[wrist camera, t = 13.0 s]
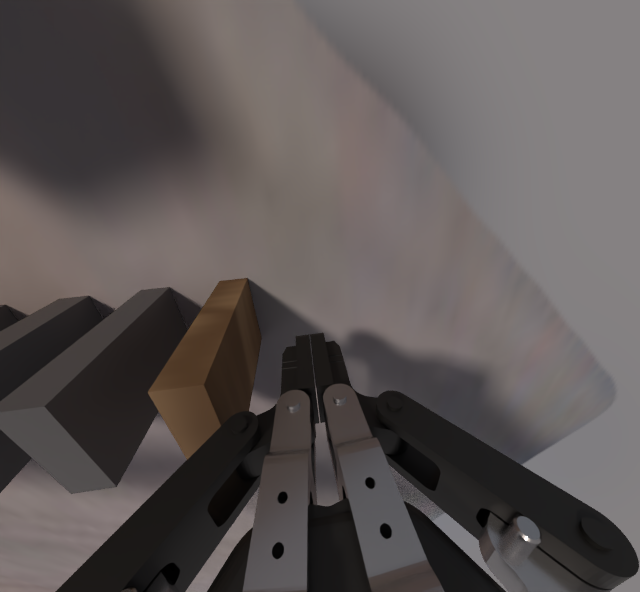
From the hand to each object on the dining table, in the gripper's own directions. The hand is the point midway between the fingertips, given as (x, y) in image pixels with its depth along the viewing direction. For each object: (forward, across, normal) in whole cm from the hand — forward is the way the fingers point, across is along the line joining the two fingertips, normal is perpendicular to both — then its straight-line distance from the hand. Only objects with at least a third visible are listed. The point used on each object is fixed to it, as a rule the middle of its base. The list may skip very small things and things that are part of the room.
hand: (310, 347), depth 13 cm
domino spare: (+5, +4, 0) cm, 7 cm away
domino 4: (+5, +10, 0) cm, 11 cm away
